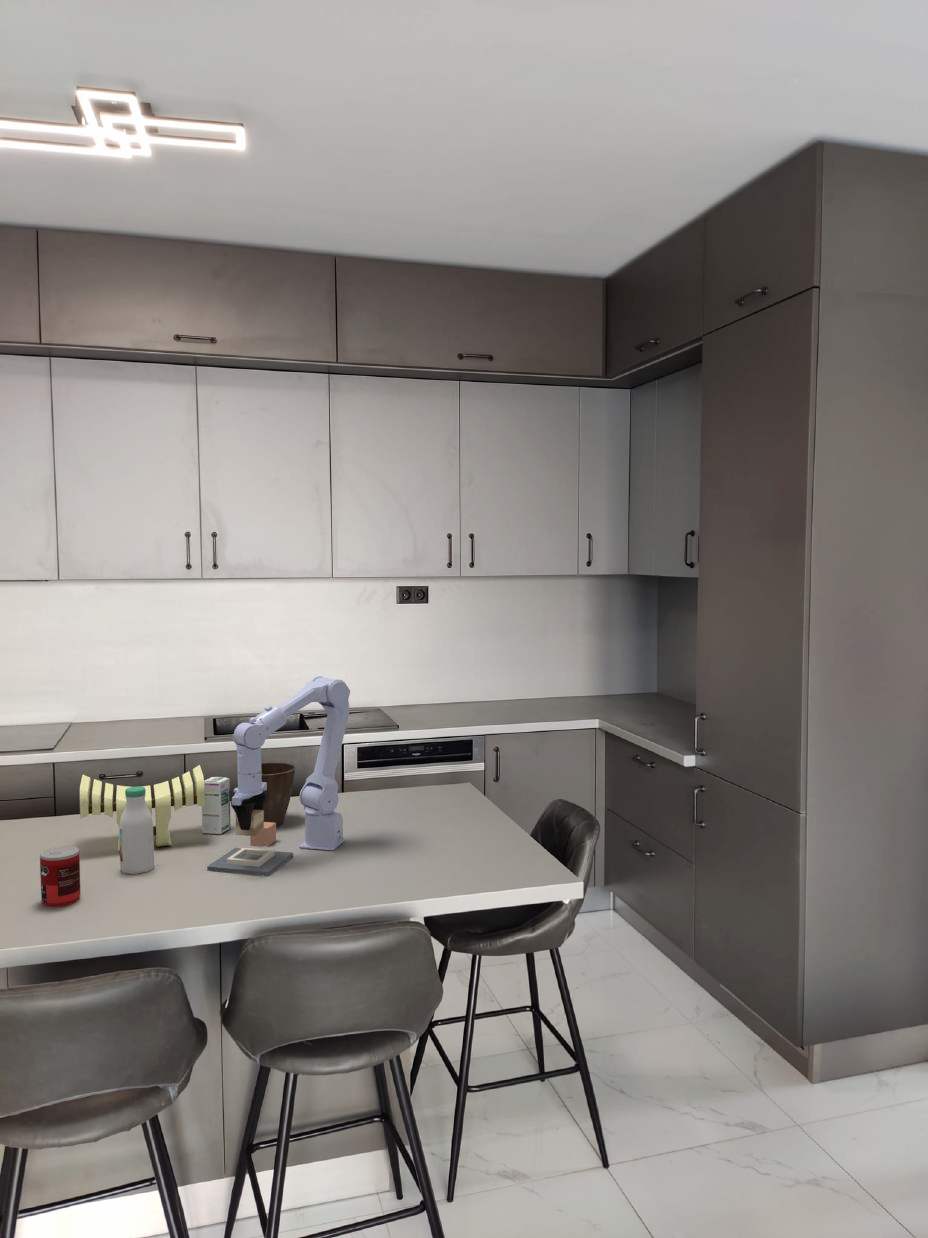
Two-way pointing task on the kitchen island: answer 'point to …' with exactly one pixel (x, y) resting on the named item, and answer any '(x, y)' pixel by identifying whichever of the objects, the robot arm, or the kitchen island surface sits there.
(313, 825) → the robot arm
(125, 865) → the milk bottle
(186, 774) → the slatted curved stool
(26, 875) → the kitchen island surface
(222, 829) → the syrup box
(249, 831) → the oak block
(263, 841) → the terracotta block
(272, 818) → the plant pot
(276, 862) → the slate baseplate
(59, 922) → the kitchen island surface
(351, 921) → the kitchen island surface
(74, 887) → the canned food
